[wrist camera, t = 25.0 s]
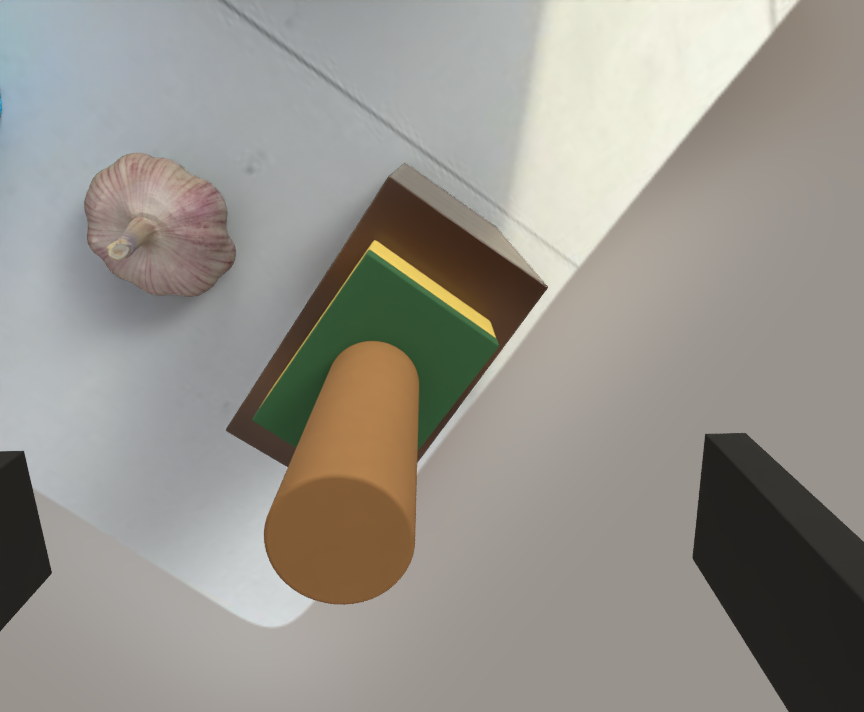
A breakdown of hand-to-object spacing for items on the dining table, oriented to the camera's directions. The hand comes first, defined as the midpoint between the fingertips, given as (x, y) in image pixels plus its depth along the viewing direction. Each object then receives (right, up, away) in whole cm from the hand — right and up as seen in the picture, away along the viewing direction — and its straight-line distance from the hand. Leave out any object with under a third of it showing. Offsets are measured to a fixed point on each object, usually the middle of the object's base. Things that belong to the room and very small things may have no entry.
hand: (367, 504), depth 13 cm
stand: (-1, +8, +24) cm, 25 cm away
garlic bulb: (-13, +10, +23) cm, 28 cm away
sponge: (0, +3, +9) cm, 9 cm away
